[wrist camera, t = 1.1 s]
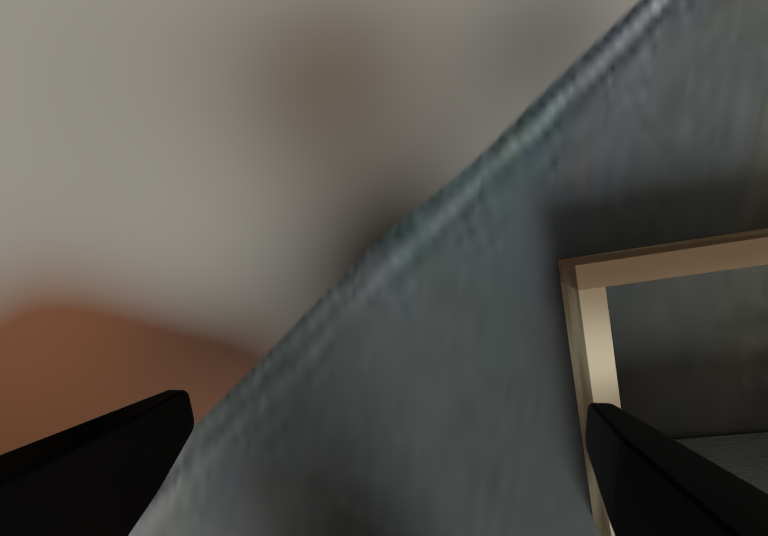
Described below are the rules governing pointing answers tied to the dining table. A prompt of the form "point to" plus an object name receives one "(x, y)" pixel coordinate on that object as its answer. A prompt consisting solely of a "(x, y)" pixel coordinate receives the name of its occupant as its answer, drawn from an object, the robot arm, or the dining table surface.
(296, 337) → the dining table surface
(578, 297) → the pusher lane
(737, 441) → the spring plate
